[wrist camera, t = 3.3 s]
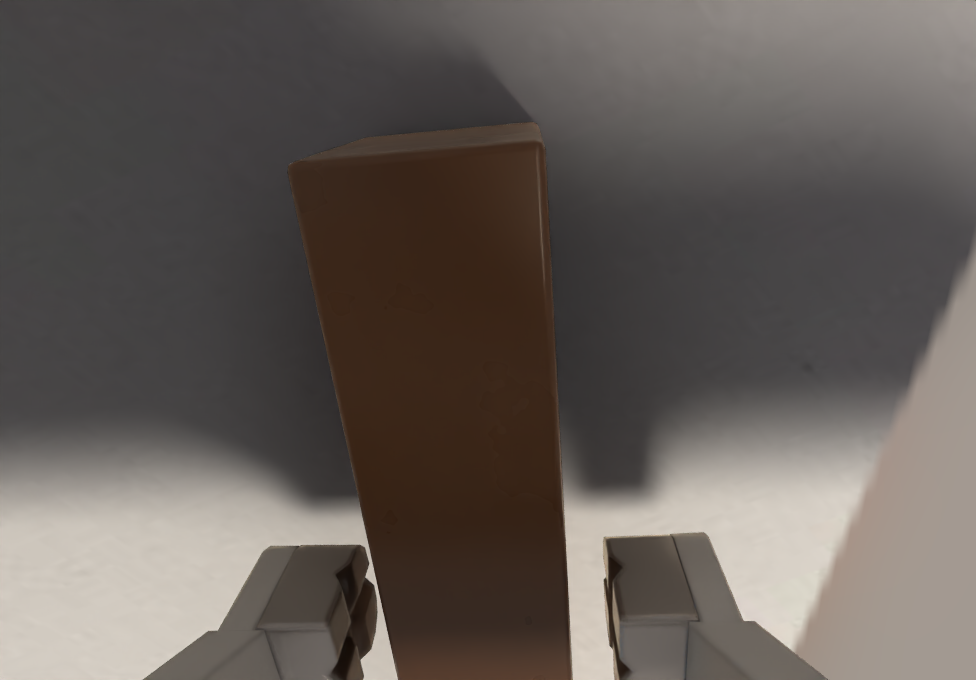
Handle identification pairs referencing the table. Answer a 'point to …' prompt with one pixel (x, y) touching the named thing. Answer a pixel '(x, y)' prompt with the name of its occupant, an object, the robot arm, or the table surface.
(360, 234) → the stick
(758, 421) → the table surface
